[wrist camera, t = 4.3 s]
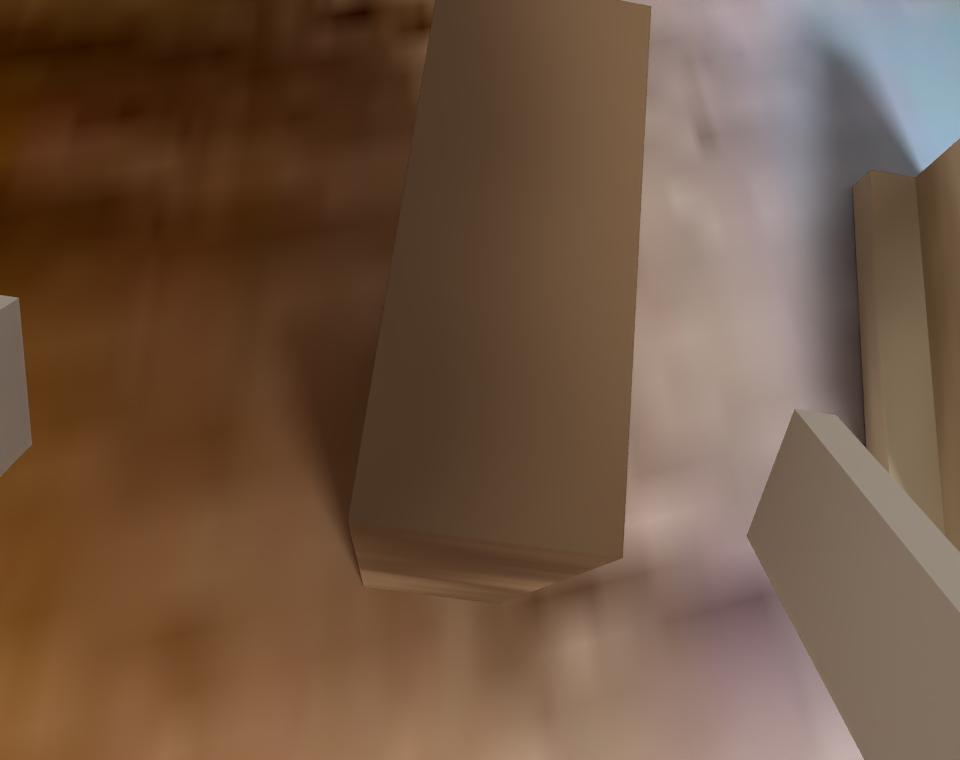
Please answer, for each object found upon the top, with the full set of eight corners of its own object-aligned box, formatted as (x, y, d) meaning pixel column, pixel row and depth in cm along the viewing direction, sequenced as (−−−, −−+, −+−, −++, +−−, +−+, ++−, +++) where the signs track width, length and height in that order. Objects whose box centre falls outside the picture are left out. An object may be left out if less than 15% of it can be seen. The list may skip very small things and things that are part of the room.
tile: (530, 290, 23) (650, 6, 13) (499, 603, 20) (622, 558, 10) (413, 272, 23) (441, -34, 13) (363, 586, 20) (347, 522, 10)
